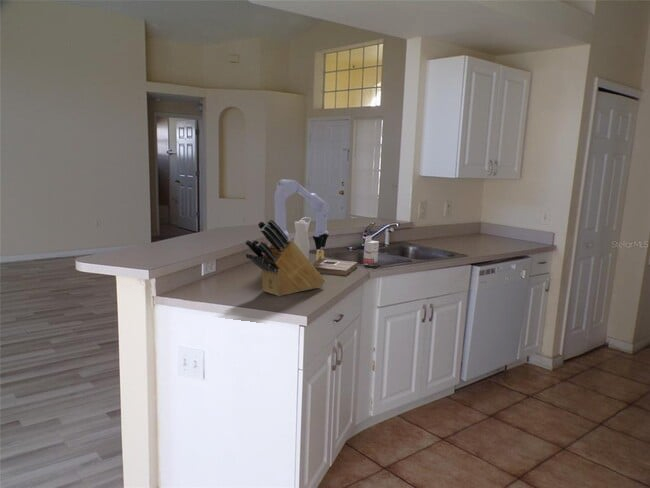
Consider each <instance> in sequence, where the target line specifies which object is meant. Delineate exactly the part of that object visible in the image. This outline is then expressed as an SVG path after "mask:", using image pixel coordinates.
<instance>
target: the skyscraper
mask: <svg viewBox="0 0 650 488" xmlns="http://www.w3.org/2000/svg"><path fill="white" fill-rule="evenodd" d="M304 219H309V221H308V222H306V220H304ZM311 220H312V218H311V217H309V216H304V217H302V218H301V219H299V220H297V221H296V220H295V221H294V229H295V235H294V239H293V242H294V243H295V244H296V245H297V246H298V248H299V249H300V250H301V251H302V253H303V254H304V255H305V256H306V257H307V259H308V260H309V255H310V240H309V234H308V232H309V229H310V228H309V227H310V223H311Z"/></svg>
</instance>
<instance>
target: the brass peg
mask: <svg viewBox="0 0 650 488" xmlns="http://www.w3.org/2000/svg"><path fill="white" fill-rule="evenodd" d="M315 256H316V259H315V262H316V261H318V260H319V259H325V250H323V249H320V250H319V249H316V255H315Z"/></svg>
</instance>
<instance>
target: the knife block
mask: <svg viewBox="0 0 650 488" xmlns="http://www.w3.org/2000/svg"><path fill="white" fill-rule="evenodd" d="M257 226H258V227H259V228H260V232H261V233H262V234H263V235H264V237H265V239H266V240H267V241H268V242H269V243H270V245H269V246H268V245H267V244H266V243H265V242H263V241H260V242H259V241H258V240H253V241H252V242H251V241H250V240H249V239H246V240H245V241H244V244H245V245H247V247H248V248H249V249H250V250H251V251H252V252H253V253H254V254H255V255H254V254H249V253H246V254H245V257H246V259H248V260H250V261H251V262H252V263H253V264H254V265H256V267H258V268H259V269H260V270H261V279H262V280H261V287H262V288H261V289H262V292H265V293H269V294H272V295H274V296H277V297H282V296H285V295H290V294H294V293H297V292H298V293H299V292H303V291H304V292H305V291H309V290H313V289H319V288H322V287H323V285H324V283H325V282H326V280H325V279H324V277H323V276H322V275H321V273H319V272H318V271H317V270H316V269H315V267H314V266H313V265H312V262H311V261H310V259H309V258H308V259H307V257H306V256H305V255H304V254H303V253H302V251H301V250H300V249H299V248H298V246H297V245H296V244H295V243H294V240H291V241H289V239H288V238H287V236H286V235H285V234H284V232H283V231H282V230H281V229H280V227H279V226H278V225H277V224H276V223H275V220H273V219H271V218H269V219H268V220H267V222H266V223H264V222H263V221H260V222H259V223H258V224H257Z"/></svg>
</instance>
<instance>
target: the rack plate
mask: <svg viewBox="0 0 650 488" xmlns="http://www.w3.org/2000/svg"><path fill="white" fill-rule="evenodd" d="M311 264H312V265H313V266H314V267H315V269H316V270H317V271H318V272H319V274H327V275H338V276H345V277H346V276H347V275H349V274H350V273H352V272H353V271H354V270H356V268H358V262H357V261H348V260H337V259H327V258H326V259H325V258H324V259H319V260H318V261H316V260H315V261H314V262H311Z"/></svg>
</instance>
